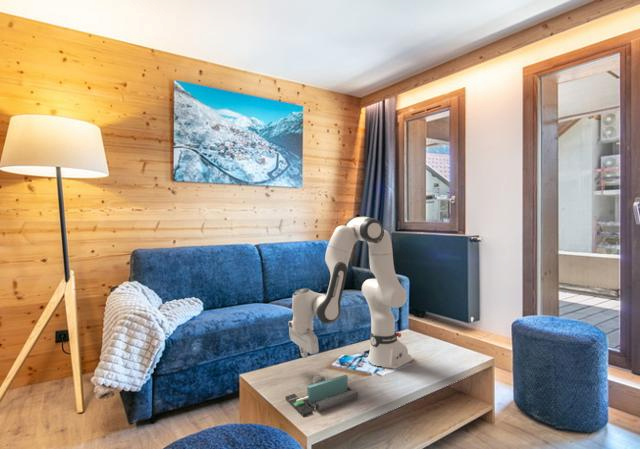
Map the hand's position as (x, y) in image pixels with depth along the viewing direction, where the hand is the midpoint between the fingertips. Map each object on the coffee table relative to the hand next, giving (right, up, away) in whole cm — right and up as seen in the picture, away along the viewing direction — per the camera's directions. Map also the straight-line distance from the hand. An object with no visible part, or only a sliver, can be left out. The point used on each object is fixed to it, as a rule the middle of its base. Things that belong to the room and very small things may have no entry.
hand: (304, 356), depth 163 cm
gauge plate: (+8, -9, -19) cm, 23 cm away
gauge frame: (+8, -10, -19) cm, 23 cm away
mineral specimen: (+7, -10, -11) cm, 16 cm away
